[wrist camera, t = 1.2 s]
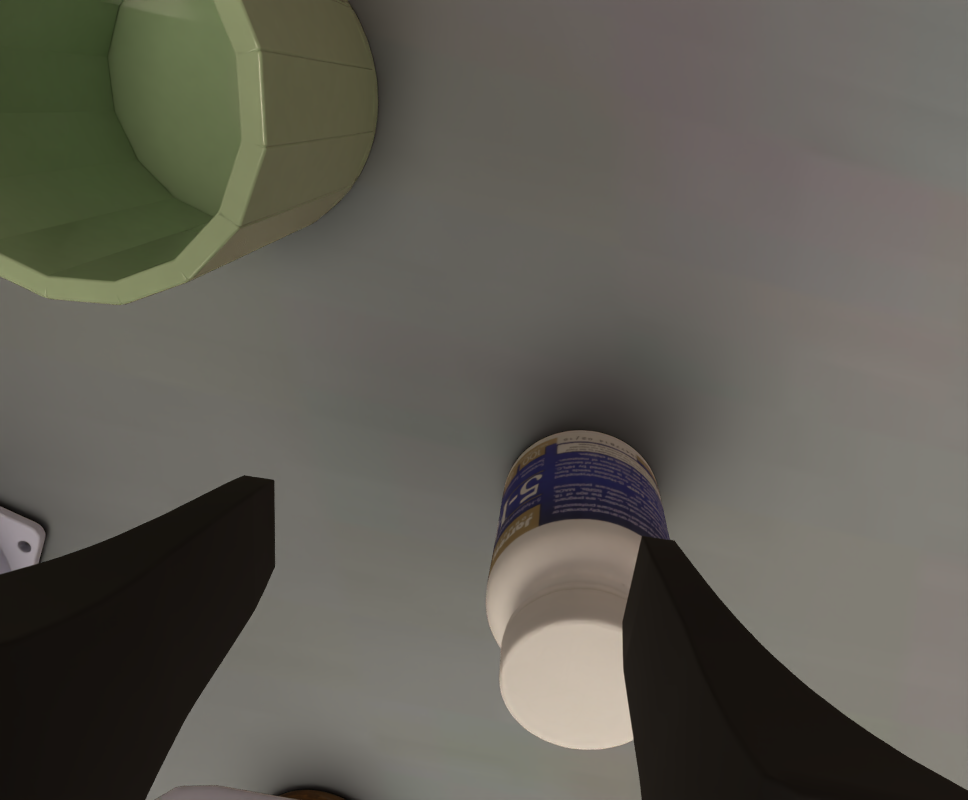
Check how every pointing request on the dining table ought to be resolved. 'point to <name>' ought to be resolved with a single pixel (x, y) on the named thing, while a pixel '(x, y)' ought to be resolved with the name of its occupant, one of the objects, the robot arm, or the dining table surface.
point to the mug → (171, 135)
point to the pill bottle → (569, 584)
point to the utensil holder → (311, 795)
